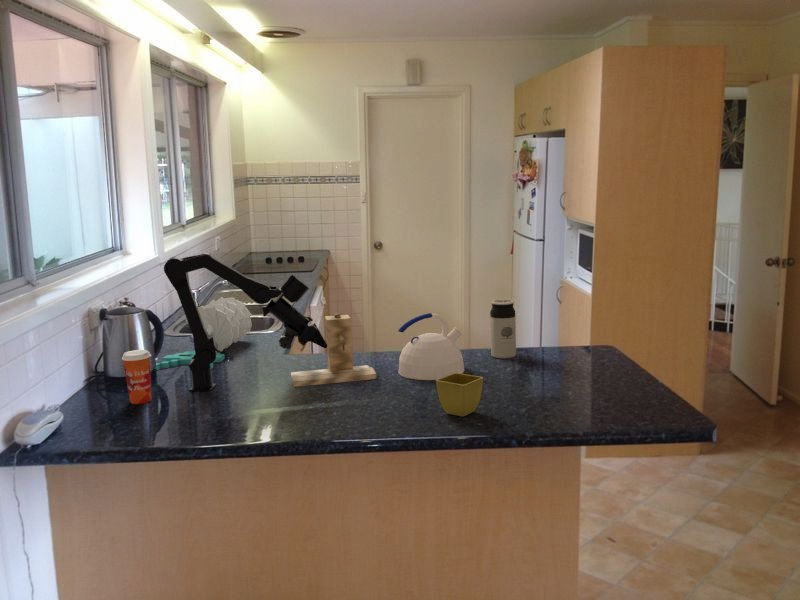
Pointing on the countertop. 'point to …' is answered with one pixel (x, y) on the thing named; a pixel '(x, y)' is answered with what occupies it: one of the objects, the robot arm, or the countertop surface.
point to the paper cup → (138, 375)
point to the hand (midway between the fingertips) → (326, 347)
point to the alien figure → (183, 359)
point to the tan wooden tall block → (339, 342)
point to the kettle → (431, 353)
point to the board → (332, 376)
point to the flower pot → (459, 393)
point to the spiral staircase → (225, 320)
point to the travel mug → (503, 329)
